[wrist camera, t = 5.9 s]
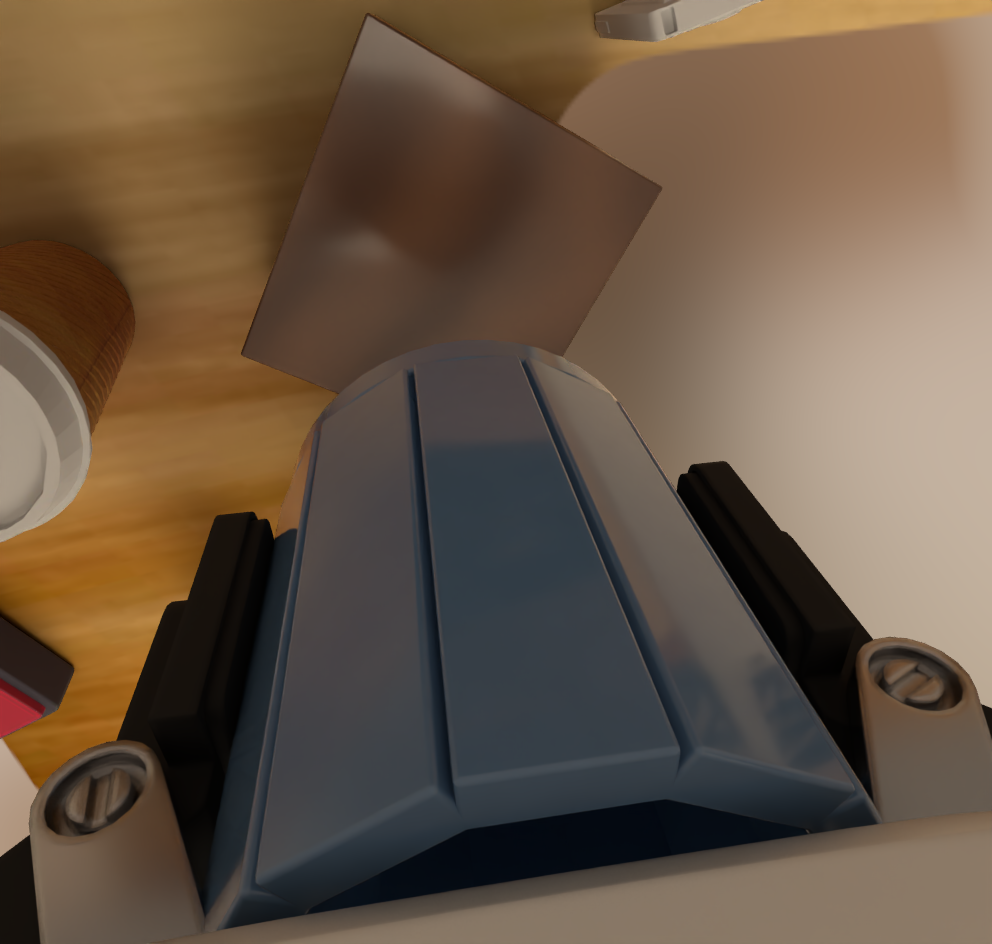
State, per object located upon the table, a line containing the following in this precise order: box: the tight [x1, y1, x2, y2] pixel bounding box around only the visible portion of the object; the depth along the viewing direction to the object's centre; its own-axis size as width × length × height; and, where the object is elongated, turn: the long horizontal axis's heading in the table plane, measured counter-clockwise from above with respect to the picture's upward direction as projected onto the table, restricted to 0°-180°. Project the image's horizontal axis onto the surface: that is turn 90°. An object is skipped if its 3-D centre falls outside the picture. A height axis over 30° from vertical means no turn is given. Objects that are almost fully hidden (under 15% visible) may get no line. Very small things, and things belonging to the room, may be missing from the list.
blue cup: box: [202, 340, 884, 933], centre depth 10 cm, size 7×7×8 cm
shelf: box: [241, 13, 662, 394], centre depth 29 cm, size 11×12×8 cm
